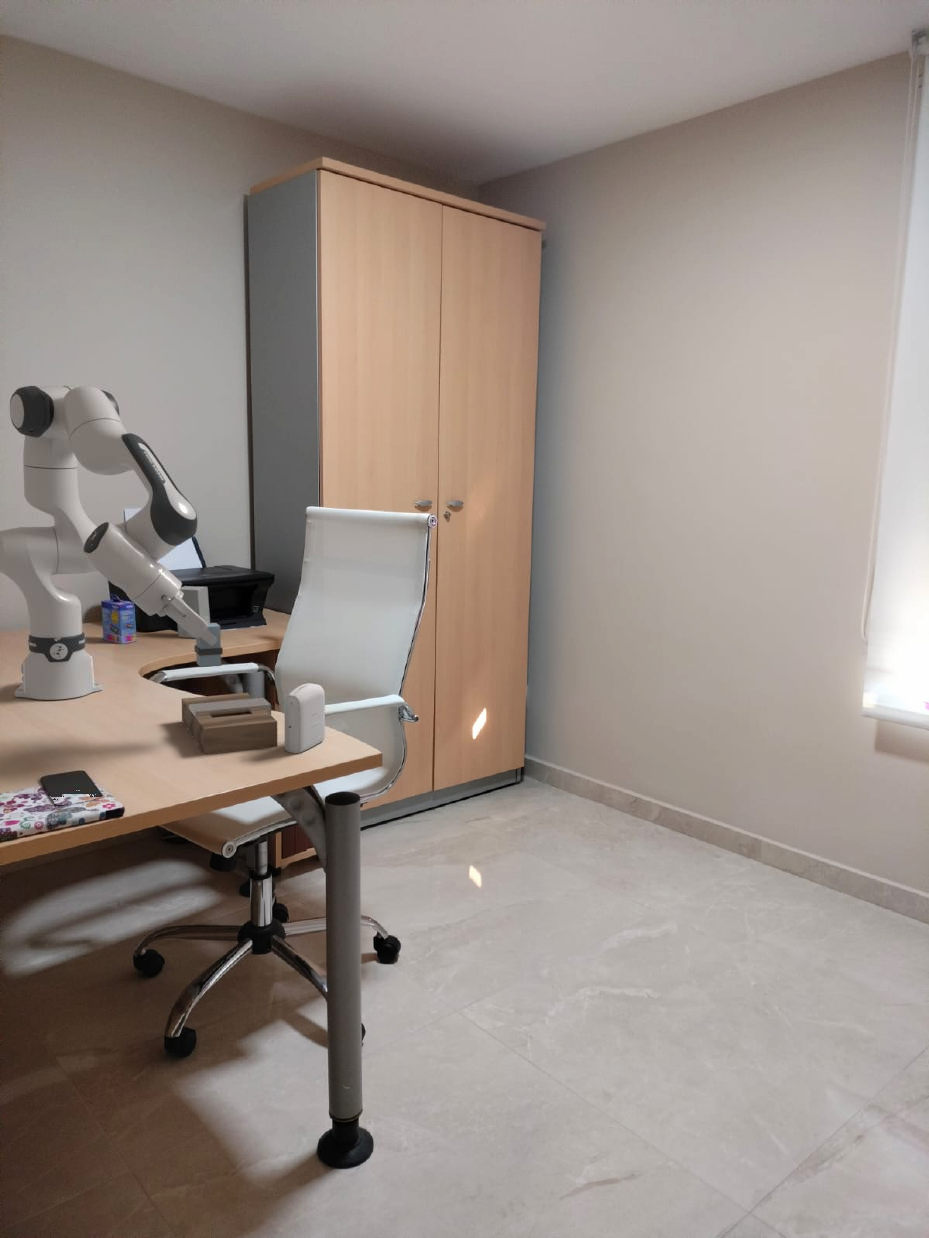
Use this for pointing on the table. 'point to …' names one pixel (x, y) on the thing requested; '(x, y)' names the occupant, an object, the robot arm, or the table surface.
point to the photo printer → (304, 718)
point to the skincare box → (195, 605)
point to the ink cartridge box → (118, 620)
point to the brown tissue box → (229, 726)
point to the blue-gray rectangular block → (209, 648)
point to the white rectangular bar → (230, 707)
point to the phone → (70, 784)
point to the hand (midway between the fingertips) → (211, 640)
